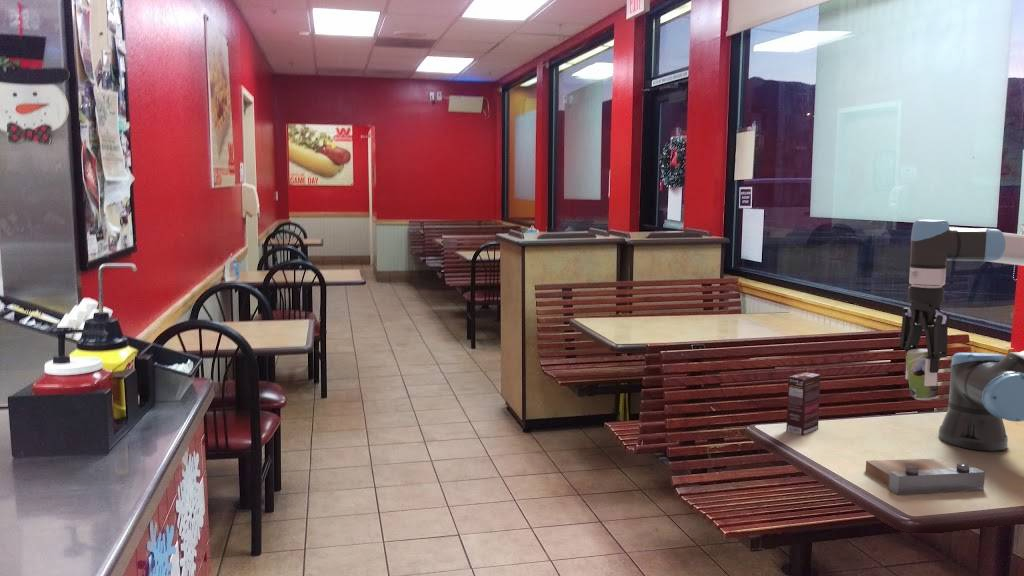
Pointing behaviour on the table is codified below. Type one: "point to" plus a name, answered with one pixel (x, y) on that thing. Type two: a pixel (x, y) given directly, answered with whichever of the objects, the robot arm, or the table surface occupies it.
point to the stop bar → (936, 480)
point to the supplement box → (803, 403)
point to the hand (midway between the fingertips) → (920, 382)
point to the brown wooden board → (899, 467)
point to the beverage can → (919, 375)
